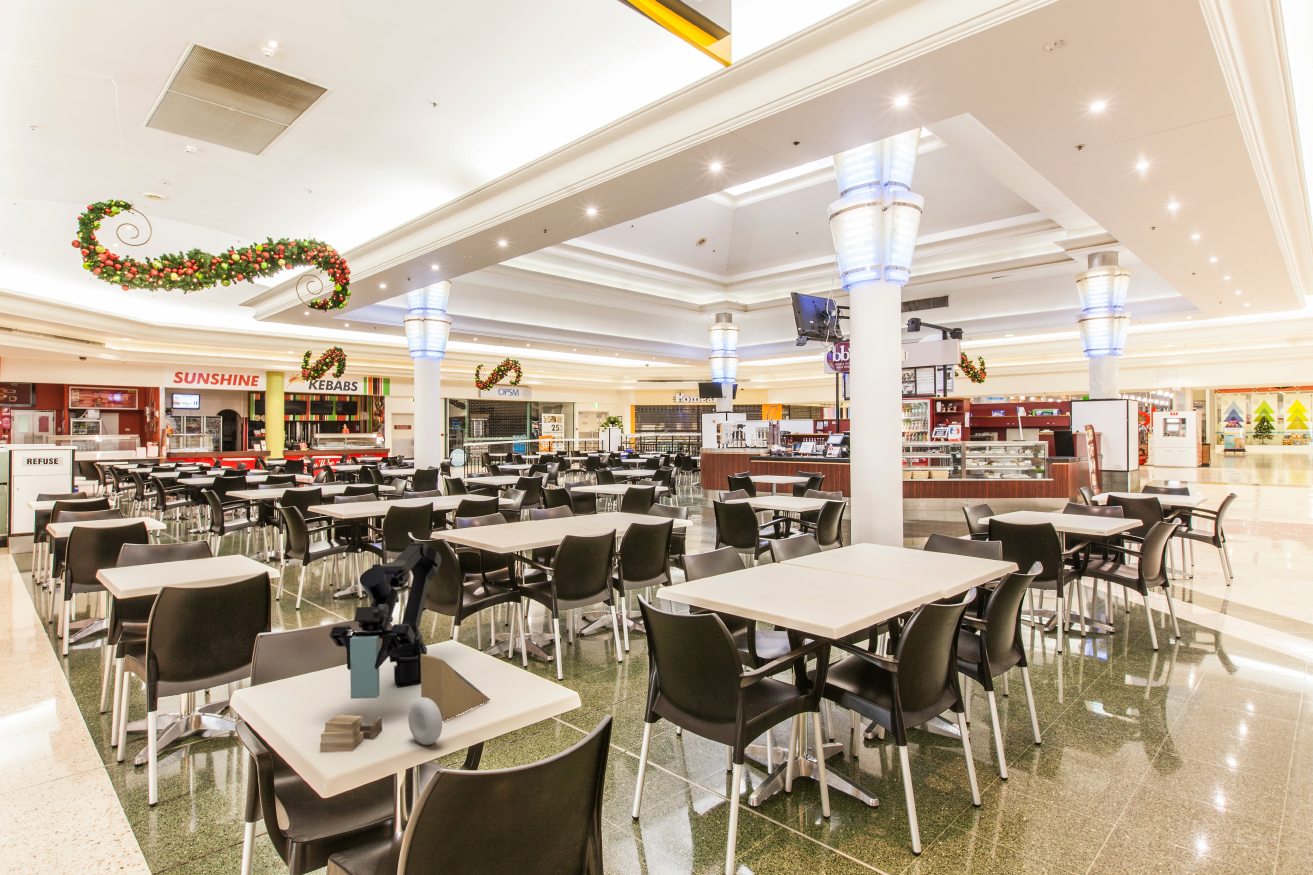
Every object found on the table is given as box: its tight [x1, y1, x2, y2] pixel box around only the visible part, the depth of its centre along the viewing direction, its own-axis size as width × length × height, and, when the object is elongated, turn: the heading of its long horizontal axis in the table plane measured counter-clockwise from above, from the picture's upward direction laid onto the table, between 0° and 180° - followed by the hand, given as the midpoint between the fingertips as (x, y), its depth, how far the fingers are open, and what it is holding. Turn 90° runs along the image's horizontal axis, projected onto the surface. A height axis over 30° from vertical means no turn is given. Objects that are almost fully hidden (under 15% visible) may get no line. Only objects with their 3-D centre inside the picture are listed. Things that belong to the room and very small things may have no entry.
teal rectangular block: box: [349, 636, 381, 700], centre depth 149 cm, size 2×6×14 cm, turn 91°
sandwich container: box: [420, 654, 492, 722], centre depth 158 cm, size 9×15×15 cm, turn 146°
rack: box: [360, 716, 383, 740], centre depth 143 cm, size 4×11×3 cm, turn 91°
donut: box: [407, 697, 443, 746], centre depth 139 cm, size 10×4×10 cm, turn 54°
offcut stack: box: [319, 714, 365, 753], centre depth 138 cm, size 5×7×6 cm
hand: (362, 668), depth 148 cm, fingers closed on teal rectangular block, 6 cm apart
